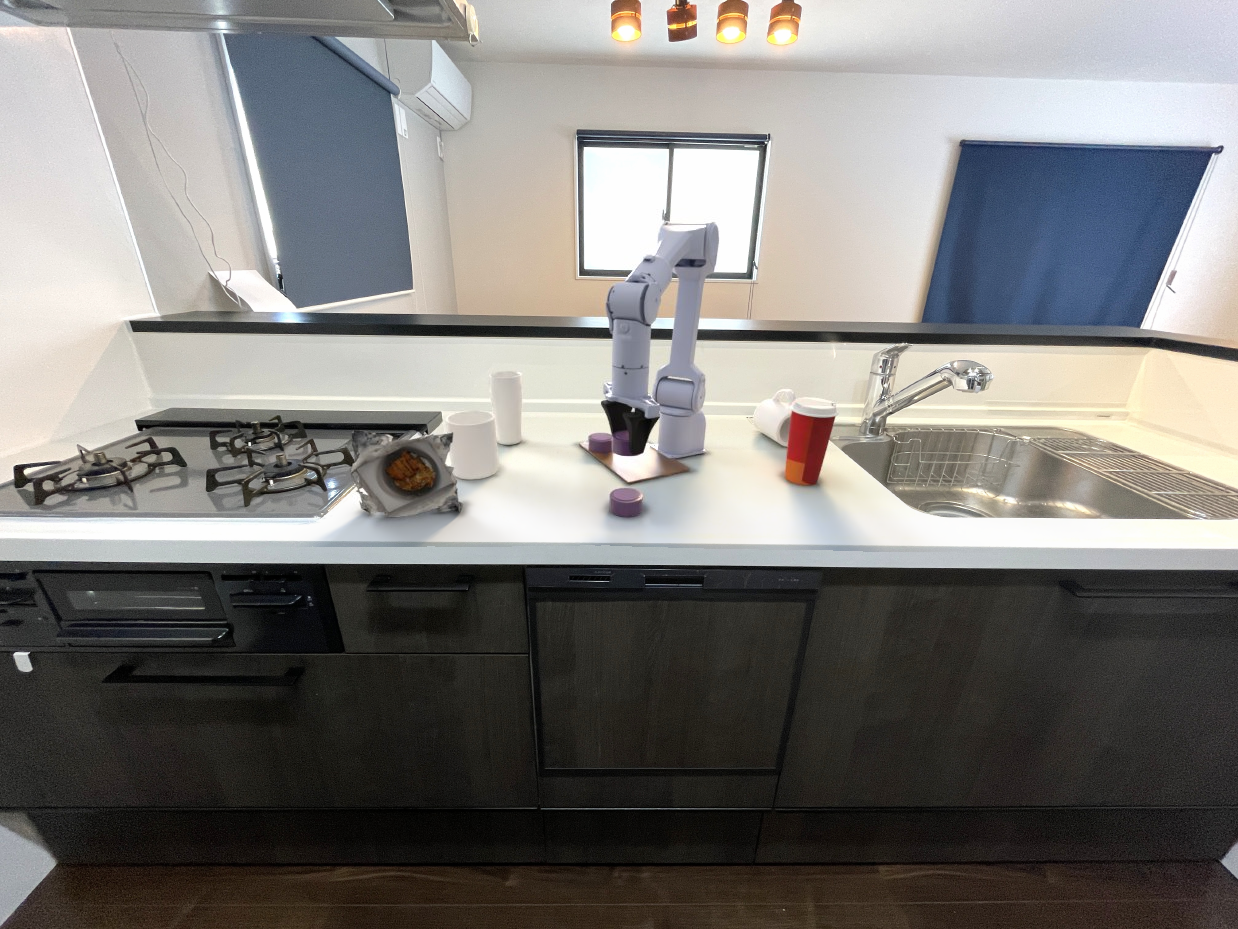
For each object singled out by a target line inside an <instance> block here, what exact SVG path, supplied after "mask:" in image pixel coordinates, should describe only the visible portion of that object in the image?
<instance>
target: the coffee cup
mask: <svg viewBox="0 0 1238 929" xmlns="http://www.w3.org/2000/svg"><path fill="white" fill-rule="evenodd" d="M789 409H790V410H792V411H791V420H790V429H789V438H788V447H787V449H786V458H785V467H784V478H785V479H786V481H788V482H790V483H792V484H795V485H800V486H814V485H816V484H817V483H818V481H819V478H820V476H821V475H820V474H821V471H822V467H823V464H824V460H825V457H826V453H827V449H828V445H829V442H830V439H831V434H832V431H833V428H834V424H835V421H836V416H838V415H839V410H838V407H837V405H836V402H834V401H832V400H828V399H824V398H821V397H813V396H812V397H811V396H807V397H806V396H805V397H804V396H803V397H798V398H797V397H796V399H795V401H794V402H792V405H791V406H789Z"/></svg>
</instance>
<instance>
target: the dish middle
mask: <svg viewBox="0 0 1238 929" xmlns="http://www.w3.org/2000/svg"><path fill="white" fill-rule="evenodd" d="M611 435H612V452H613V453H615V454H617V455H620V456H638V455H641V454H638V455H632V454H631V453H630V448H629V434H628V430H622V431H617V432H615V433H613V434H611Z"/></svg>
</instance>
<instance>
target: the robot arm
mask: <svg viewBox="0 0 1238 929" xmlns="http://www.w3.org/2000/svg"><path fill="white" fill-rule="evenodd" d="M719 232H720V231H719V227H718V225H717V224H716V222H715V221H714V220H710V221H670V220H666V221H664V222H663V223H662V224H661V226H660V228H659V229H658V234H657V248H656V249H655V251H654V252H653V254H644V256H643V257H642V259H641V260H640V261H639V263H637V265H636V266H635V267H634V268H633V270H632V271H631V273H630V274H629V275H628V276H627V277H626V279H625V280H624V281H617V282H616V283H615V284H613V285H611V287H610V288H609V289H608V292H607V296H606V302H605V314H606V316H607V317H606V318H607V319H608V330H609V333H610V334H611V335H612V349H611V350H612V352H611V353H612V354H611V365H612V366H611V382H603V383H602V384H603V385H602V386H603V388H602V389H603V390H602V392H603V395H604V397H605V398H604V399H603V400H601V401H600V405H601V407H602V409H603V411H604V413H605V415H606V418H607V422H608V424H609V429H610V434H611V435H612V434H613V433H615V432H617V431H622V430H628V434H629V448H630V453H631V454H632V455H638V454H643V453H644V450H645V447H646V444H647V442H648V440H649V437H650V435H651V433H652V431H653V429H654V427H655V425H656V424H657V422H658V436H657V437H658V438H657V439H658V440H657V443H654V444H653V443H652V444H651V445H650V447H651V448H653V449H654V450H656V451H658V452H659V453H661V454H662V455H664V456H666V457H667V458H669V459H672V458H674V459H676V460H677V459H681V458H684V457H685V458H686V457H690V456H695V455H700V454H706V452H707V450H706V449H705V439H706V430H707V420H706V416H705V414H704V412H703V411H702V408H703V406H704V404H705V399H706V380H707V379H706V374H705V372H703V371H702V370H701V369H700V368H699V367H698V366H697V365H696V364H695V355H696V349H697V348H696V347H697V340H698V339H697V338H698V332H699V323H700V316H701V315H700V314H701V307H702V300H703V292H704V285H705V281H706V277H707V276H708V275H711V274H712V273H714V272H715V268H716V265H717V260H718V252H719V244H720V235H719ZM673 274H675V275H676V276H677V279H678V282H677V294H676V295H677V296H676V302H675V310H674V311H675V312H674V319H673V328H672V336H671V345H670V346H671V347H670V353H669V354H670V355H669V362H668V363H667V364H665V365H663V366H662V367H660V368H659V369H658V370H657V371H656V375H655V380H654V383H653V384H652V385H653V386H652V391H651V394H650V393H649V377H650V359H651V357H650V356H651V338H652V337H651V335H652V325H653V324H654V323H655V322H656V320H657V317H658V314H659V309H660V306H661V302H662V296H663V294H664V293H665V292H666V290H667V288H668V287H669V285H670V284H671V282H672V280H673ZM633 409H634V411H633Z"/></svg>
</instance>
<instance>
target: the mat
mask: <svg viewBox="0 0 1238 929" xmlns="http://www.w3.org/2000/svg"><path fill="white" fill-rule="evenodd" d="M650 445H652V444H651V443H650V442H648V441H647V444H646V447H645V450H644V453H643V454H641V455H638V456H620V455H617V454H615V453H613V452H612V451H611V452H608V453H595V452H592V451H590V450H589V449H588V441H583V442H578V446H580V447H581V448H583V449H584V450H585V451H586V452H588V454H590V455H591V456H592V457H594V458H595V459H597V461H598V462H600V463H601V464H603V465H604V466H605V467H606V468H607V469H609V470H610V471H611V472H612V473H614V475H616V476H617V477H618V478H620V479H621V480H622V481H623V482H625V483H626V484H628V485H631V484H635V483H639V482H645V481H650V480H653V479H659V478H663V477H668V476H673V475H678V474H683V473H686V472H687V473H688V472H691V471H692V469H691V468H690V467H688V466H687V465H685V464H684V463H682V462H681V461H679V460H678V459H677V458H676V459H674V458H672V459H669V458H667V457H666V456H664V455H662V454H661V453H659V452H658V451H656V450H654V449H653V448H651V447H650Z"/></svg>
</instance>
